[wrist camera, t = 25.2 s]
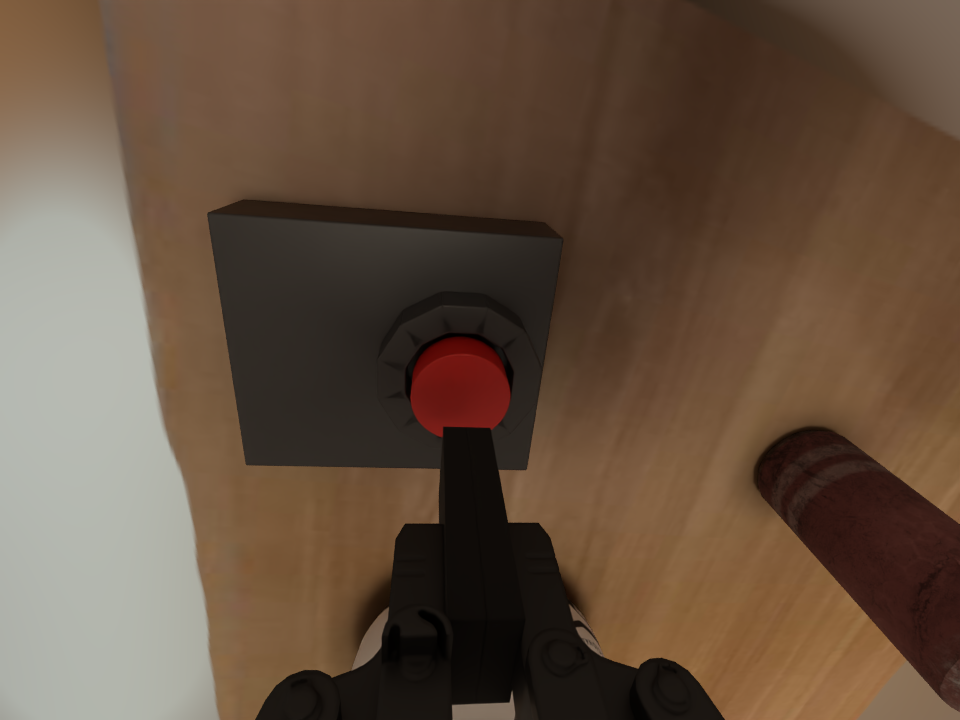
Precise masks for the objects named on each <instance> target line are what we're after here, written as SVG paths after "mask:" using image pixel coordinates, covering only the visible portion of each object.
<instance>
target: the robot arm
mask: <svg viewBox="0 0 960 720" xmlns="http://www.w3.org/2000/svg"><path fill="white" fill-rule="evenodd" d="M511 693H513V700H514V707H515V718H514V720H725V719H724V718H723V716H722V715H721V714H720V712H719V711H718V709H717V708H716V706H715V705H714V704H713V702H712V701H711V699H710V698H709V696H708V695H707V693H706V692H705V691H704V689H703V688H702V686H701V685H700V683H699V682H698V681H697V680H696V679H695V678H694V677H693V676H692V674H691V673H690V672H689V671H688V670H686V669H685V668H683V667H682V666H680V665H679V664H677V663H676V662H674V661H670V660H667V659H664V658H653V659H649V660H647V661H645V662H644V663H642V664H641V665H640V667H639V669H637V668H634V667H631V666H627V665H624V664H621V663H618V662H614V661H611V660H609V659H606V658H604V657H602V656H600V655H599V654H597V653H596V652H594V651H593V650H591V649H590V648H589V647H588V646H587V644H586V643H585V642H584V641H583V640H582V638H581V637H580V635H579V634H578V632H577V629H576V627H575V624H574V621H573V617H572V614H571V610H570V606H569V603H568V599H567V596H566V592H565V589H564V585H563V581H562V578H561V574H560V573H559V567H558V564H557V560H556V558H555V553H554V549H553V546H552V542H551V539H550V537H549V535H548V534H547V533H546V532H545V530H544V529H543V528H542V527H541V525H540V524H539V523H508V520H507V515H506V509H505V504H504V498H503V493H502V487H501V482H500V476H499V471H498V466H497V460H496V455H495V449H494V444H493V438H492V433H491V428H483V427H444V426H443V437H442V453H441V469H440V484H439V524H405V525H404V526H403V528H402V530H401V531H400V533H399V534H398V536H397V538H396V541H395V551H394V561H393V571H392V582H391V592H390V602H389V612H388V620H387V622H386V623H385V626H384V629H383V633H382V646H381V648H380V649H379V651H378V652H377V653H376V654H375V656H374V657H373V658H372V659H370V660H369V661H368V662H367V663H365V664H364V665H362V666H360V667H358V668H356V669H354V670H352V671H349V672H346V673H344V674H341V675H338V676H336V677H333V678H331V676H330V675H327V674H325V673H323V672H321V671H319V670H303V671H301V672H298V673H295V674H292V675H290V676H288V677H287V678H286V679H284V680H283V681H282V682H280V683H279V684H278V685H276V687H275V688H274V689H273V691H272V692H271V693H270V695H269V696H268V697H267V699H266V700H265V702H264V704H263V706H262V708H261V710H260V712H259V714H258V715H257V717H256V719H255V720H453V717H452V705H466V704H491V703H510V699H511Z"/></svg>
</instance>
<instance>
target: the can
mask: <svg viewBox="0 0 960 720" xmlns="http://www.w3.org/2000/svg"><path fill="white" fill-rule="evenodd" d="M758 487H759V489H760V492H761V495H762V497H763V498H764V499H765V500H766V501H767V502H768V503H769V505H770V506H771V507H772V508H773V509H774V510H775V511H776V513H777V514H778V515H779V516H780V517H781V518H782V519H783V520H784V522H785V523H786V524H787V525H788V526H789V527H790V528H791V529H792V531H793V532H794V533H795V534H796V535H797V536H798V537H799V538H800V540H801V541H802V542H803V543H804V544H805V545H806V546H807V548H808V549H809V550H810V551H811V552H812V553H813V554H814V555H815V557H816V558H817V559H818V560H819V561H820V562H821V563H822V564H823V566H824V567H825V568H826V569H827V570H828V571H829V572H830V573H831V575H832V576H833V577H834V578H835V579H836V580H837V581H838V583H839V584H840V585H841V586H842V587H843V588H844V589H845V590H846V592H847V593H848V594H849V595H850V596H851V597H852V598H853V599H854V601H855V602H856V603H857V604H858V605H859V606H860V607H861V608H862V610H863V611H864V612H865V613H866V614H867V615H868V616H869V618H870V619H871V620H872V621H873V622H874V623H875V624H876V625H877V627H878V628H879V629H880V630H881V631H882V632H883V633H884V634H885V636H886V637H887V638H888V639H889V640H890V641H891V642H892V644H893V645H894V646H895V647H896V648H897V649H898V650H899V651H900V653H901V654H902V655H903V656H904V657H905V658H906V659H907V660H908V661H909V663H910V664H911V665H912V666H913V667H914V668H915V669H916V671H917V672H918V673H919V674H920V675H921V676H922V677H923V679H924V680H925V681H926V682H927V683H928V684H929V685H930V686H931V687H932V689H933V690H934V691H935V692H936V693H937V694H938V695H939V697H940V698H941V699H942V700H943V701H945V702H946V703H947V704H948V705H949V706H951V707H952V708H954V709H955V710H957V711H959V712H960V524H958V523H957V522H956V521H954V520H953V519H952V518H951V517H949V516H948V515H947V514H945V513H944V512H943V511H941V510H940V509H939V508H937V507H936V506H935V505H933V504H932V503H931V502H929V501H928V500H927V499H925V498H924V497H923V496H921V495H920V494H919V493H917V492H916V491H915V490H914V489H912V488H911V487H910V486H908V485H907V484H906V483H904V482H903V481H902V480H900V479H899V478H898V477H896V476H895V475H894V474H892V473H891V472H890V471H888V470H887V469H886V468H884V467H883V466H882V465H880V464H879V463H878V462H877V461H875V460H874V459H873V458H871V457H870V456H869V455H867V454H866V453H865V452H863V451H862V450H861V449H859V448H858V447H857V446H855V445H854V444H853V443H851V442H850V441H849V440H847V439H846V438H845V437H843V436H841V435H839V434H836V433H834V432H828V431H813V430H809V431H805V432H800V433H796V434H794V435H792V436H790V437H788V438H785V439H783V440H782V441H781V442H779V443H778V444H777V445H776V446H774V447H773V448H772V449H771V450H770V451H769V452H768V454H767V455H766V456H765V457H764V459H763V461H762V463H761V465H760V468H759V475H758Z"/></svg>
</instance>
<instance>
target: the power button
mask: <svg viewBox="0 0 960 720" xmlns="http://www.w3.org/2000/svg"><path fill="white" fill-rule="evenodd" d="M510 396H511V394H510V387H509V383H508V379H507V376H506V372H505V368H504V365H503V363H502V360H501V358H500V357H499V355H498V354H497V353H496V351H495V350H494V349H492V348H491V347H490V346H489V345H487V344H486V343H484V342H482V341H480V340H477V339H474V338H470V337H450V338H446V339H442V340H440V341H438V342H436V343H434V344H432V345H431V346H429V347H428V348H427V349H426V350H425V351H424V352H423V353H422V354H421V355H420V356H419V358H418V360H417V361H416V364H415V366H414V370H413V376H412V386H411V396H410V399H411V406H412V410H413V413H414V415H415V416H416V418H417V420H418V421H419V422H420V424H421V425H422V426H423V427H424V428H426V429H427V430H428V431H430V432H431V433H433V434H435V435H437V436H439V437H443V426H444V427H483V428H491V430H492V429H493V428H494V427H496V426H497V425H498V424H499V423H500V422H501V420H502V419H503V417H504V416H505V414H506V412H507V410H508V407H509V404H510Z"/></svg>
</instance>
